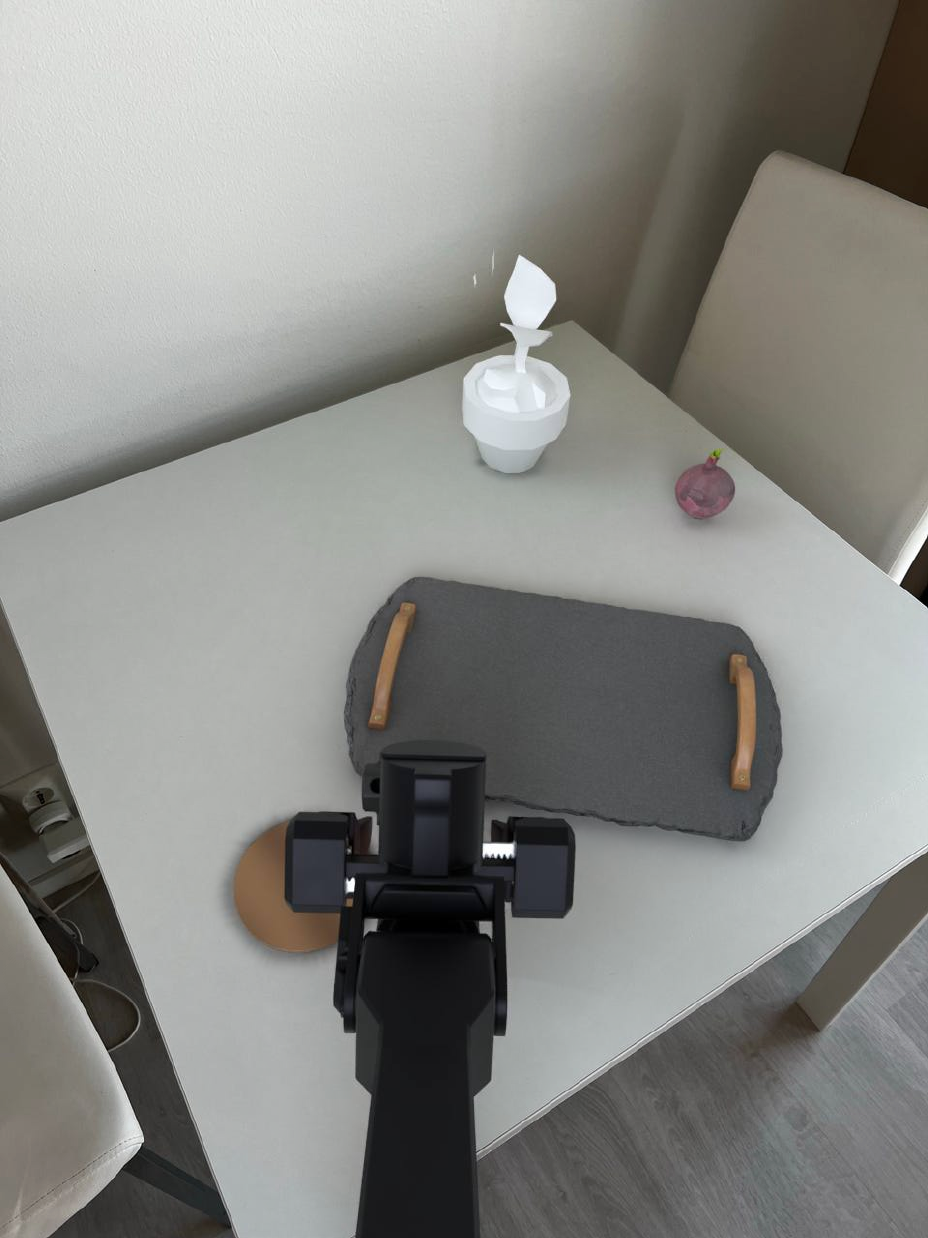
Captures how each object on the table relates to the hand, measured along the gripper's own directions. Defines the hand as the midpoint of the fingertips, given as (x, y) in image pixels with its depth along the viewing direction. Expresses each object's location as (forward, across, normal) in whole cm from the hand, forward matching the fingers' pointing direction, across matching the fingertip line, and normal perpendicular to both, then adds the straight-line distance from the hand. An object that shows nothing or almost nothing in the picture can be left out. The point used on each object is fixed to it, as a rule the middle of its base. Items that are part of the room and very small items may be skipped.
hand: (431, 824), depth 70 cm
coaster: (+4, +10, +6) cm, 13 cm away
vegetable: (+35, -28, -24) cm, 51 cm away
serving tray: (+16, -11, -5) cm, 21 cm away
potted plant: (+41, -7, -29) cm, 51 cm away
